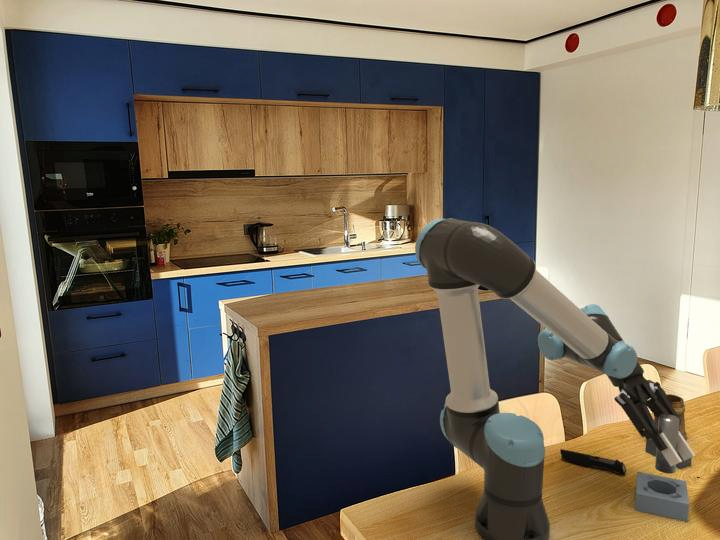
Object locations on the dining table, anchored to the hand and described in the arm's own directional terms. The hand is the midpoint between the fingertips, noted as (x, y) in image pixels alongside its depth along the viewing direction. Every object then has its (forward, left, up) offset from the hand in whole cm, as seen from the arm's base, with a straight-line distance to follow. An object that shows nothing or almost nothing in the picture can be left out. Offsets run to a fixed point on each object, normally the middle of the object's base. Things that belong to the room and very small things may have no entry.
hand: (683, 460), depth 122 cm
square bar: (-2, +25, -12) cm, 28 cm away
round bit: (-3, +2, -4) cm, 5 cm away
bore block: (-4, +2, -12) cm, 13 cm away
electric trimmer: (-18, +13, -13) cm, 26 cm away
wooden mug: (-3, +37, -12) cm, 39 cm away
